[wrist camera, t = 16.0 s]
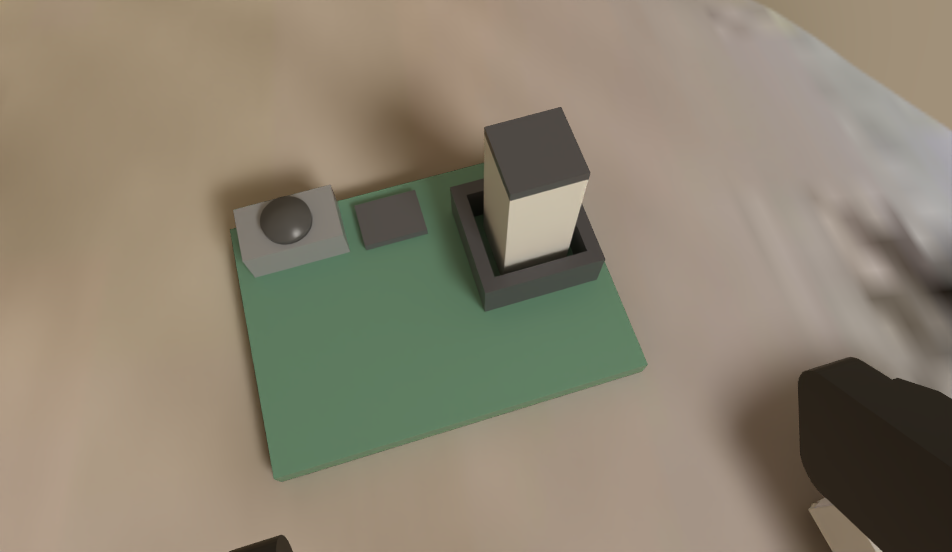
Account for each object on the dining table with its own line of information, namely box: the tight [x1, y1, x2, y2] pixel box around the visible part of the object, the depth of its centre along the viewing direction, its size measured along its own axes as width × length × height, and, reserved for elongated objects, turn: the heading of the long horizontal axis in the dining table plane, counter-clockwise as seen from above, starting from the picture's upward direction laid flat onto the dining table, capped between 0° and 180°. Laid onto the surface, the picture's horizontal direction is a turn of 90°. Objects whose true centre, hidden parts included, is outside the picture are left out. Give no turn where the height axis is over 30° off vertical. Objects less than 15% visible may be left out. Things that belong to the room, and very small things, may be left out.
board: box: [230, 163, 648, 482], centre depth 40 cm, size 22×16×4 cm
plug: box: [483, 107, 590, 275], centre depth 37 cm, size 4×4×11 cm
